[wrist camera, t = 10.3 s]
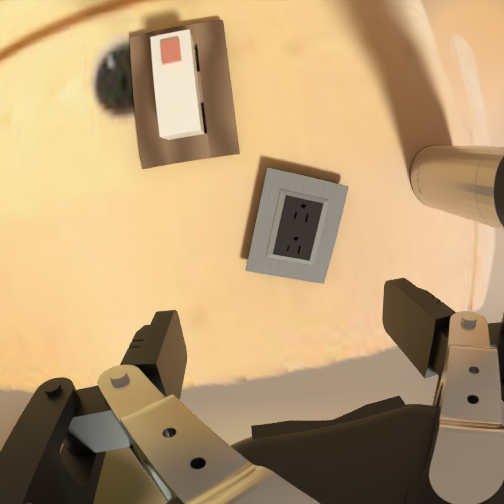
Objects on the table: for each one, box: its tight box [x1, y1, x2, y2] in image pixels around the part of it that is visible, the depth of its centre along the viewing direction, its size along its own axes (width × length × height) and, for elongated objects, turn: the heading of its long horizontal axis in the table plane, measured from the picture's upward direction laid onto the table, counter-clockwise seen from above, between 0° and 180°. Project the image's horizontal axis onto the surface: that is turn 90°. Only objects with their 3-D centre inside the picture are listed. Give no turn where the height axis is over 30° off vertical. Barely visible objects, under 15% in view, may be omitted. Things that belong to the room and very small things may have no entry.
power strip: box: [150, 29, 205, 140], centre depth 33 cm, size 4×12×7 cm, turn 7°
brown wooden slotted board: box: [130, 20, 240, 169], centre depth 35 cm, size 12×18×2 cm, turn 7°
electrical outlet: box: [246, 167, 348, 284], centre depth 41 cm, size 13×10×2 cm
